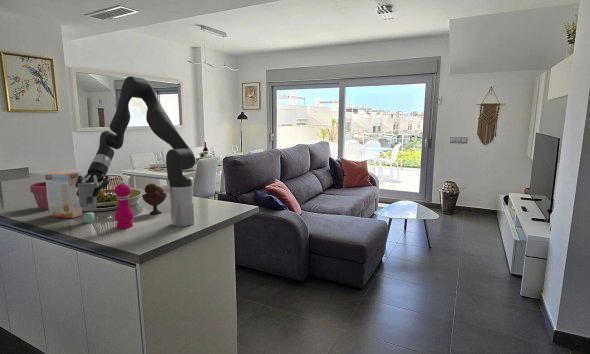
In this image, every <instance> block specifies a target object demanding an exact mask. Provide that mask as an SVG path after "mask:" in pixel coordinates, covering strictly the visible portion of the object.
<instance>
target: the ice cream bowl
mask: <svg viewBox="0 0 590 354" xmlns="http://www.w3.org/2000/svg"><path fill="white" fill-rule="evenodd" d="M143 190H144V192H145V193H144V194H142V195H141V197H142V199H143V201H144V202H145V203H146V204H148V205H149V206H152V207H153V208H152V211H150V212H149V215H152V216H158V215H161V214H162V211H161V210H159V209H158V206H159V205H161V204H162V203H163V202H164V201H165V200H166V198H167V195H168V194H167V193H166V192H164V188H162V187H161V186H158V185H156V183H148V184H146V185H145V187H144V189H143Z"/></svg>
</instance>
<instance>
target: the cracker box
mask: <svg viewBox="0 0 590 354" xmlns="http://www.w3.org/2000/svg"><path fill="white" fill-rule="evenodd" d="M44 176H45V177H44V178H45V182H46V188H47V198H48V208H49V210H48V215H49V217H55V218H67V219H74V218H78V217H81V216H83V207H80V205H79V197H78V196H77V194H76V193H77V191H78V188H77V187H76V186H75V184H76V182H77V179H78V176H80V173H79V172H73V171H71V172H69V171H51V172H50V171H48V172H45V173H44Z"/></svg>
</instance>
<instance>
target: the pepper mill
mask: <svg viewBox="0 0 590 354" xmlns="http://www.w3.org/2000/svg"><path fill="white" fill-rule="evenodd" d="M130 193H131V187H130V186H129V185H127V184H125V181H124V180H119V184H117V185H116V186H115V187H114V194H115V195H116V196H115V197H116V200H117V208H116V210H115V214H114V220H115V221H116V222H117V223H116V228H117V229H120V230H122V229H124V230H125V229H129V228H131V227H133V226H134V222H133V219H134V216H135V215H134V212H133V210H132V209H131V206H130V202H129V200H130Z"/></svg>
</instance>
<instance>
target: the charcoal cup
mask: <svg viewBox="0 0 590 354" xmlns="http://www.w3.org/2000/svg"><path fill="white" fill-rule="evenodd" d="M77 186H78V196H79V205H80V207H82V208H88V205H92V207H95V206H97V205H98V196H97V197H94V196H93V195H92V194H93V192H94V189H95V188H96V184H95V182H83V183H78V185H77Z"/></svg>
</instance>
